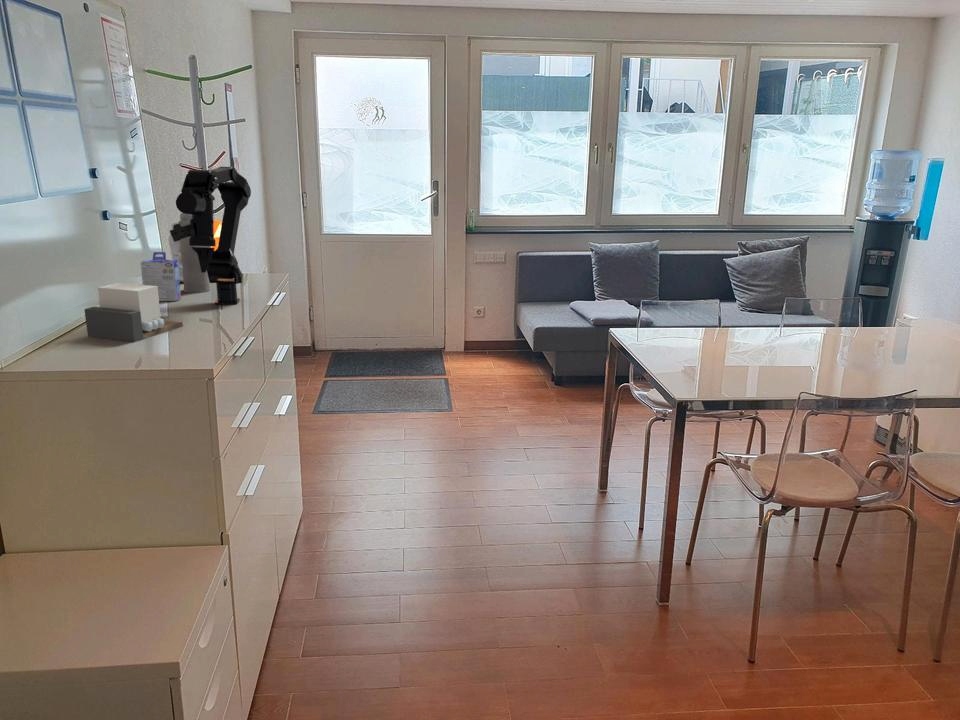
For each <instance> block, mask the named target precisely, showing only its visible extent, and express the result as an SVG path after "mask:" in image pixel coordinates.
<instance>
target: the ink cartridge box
mask: <svg viewBox="0 0 960 720" xmlns="http://www.w3.org/2000/svg"><path fill="white" fill-rule="evenodd" d="M158 255H162V256H158ZM166 255H167V252H166V251H153V253H152V259H144V260H142V261H140V268H141V282H142V285H150V286H158V296H159V302H163V301H164V302H168V301H169V302H174V301H175V302H176V301H179V300H180V299H181V298H182V295H181V283H180V282H179V271H178V261H177V259H172V258H171V259H167V256H166Z"/></svg>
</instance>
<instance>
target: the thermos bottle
mask: <svg viewBox="0 0 960 720" xmlns="http://www.w3.org/2000/svg"><path fill="white" fill-rule="evenodd" d="M191 219H192V214H185V213H182V212H181V213H180V214H179V220H180V221H178V222H177V223H178V224H180V225H181V226H182V227H183V226H186V225H190V220H191ZM189 239H190V237H186V238H183V239H180V248H181V259H182V270H183V282H184V283H183V289H184V292H186V293H191V294H192V293H193V294H194V293H195V294H196V293H205V292H210V290H211V283H210V282H209V278H208V274H207V270H206V272H205V273H203V272H201V268H200V263H199V259H198V255H197V253H196V252H195V251H194V250H193V249H192V248H191V247H195V246H190V243H189Z"/></svg>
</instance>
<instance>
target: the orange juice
mask: <svg viewBox="0 0 960 720" xmlns="http://www.w3.org/2000/svg"><path fill="white" fill-rule="evenodd" d="M213 220H214V219H213ZM221 226H222V220H214V239H215V241H216V246H211V248H215V249H214V251H216V249H217V248H218V243H219V237H220V231H221Z"/></svg>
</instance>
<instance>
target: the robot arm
mask: <svg viewBox="0 0 960 720" xmlns="http://www.w3.org/2000/svg"><path fill="white" fill-rule="evenodd" d="M216 189H217V190H218V191H219V194H220V198H221V200H222V203H223V205H224V207H223V208H224V210H223V215H222V220H221V223H222V226H221V231H220V237H219V243H218V248H217V249H216V251H214V249H215V248H211V246H216V241H215V239H214V201H215V200H216V198H215V196H214V195H213V193H214V192H215V191H216ZM180 191H181V193H180V194H178V196H177V198H176V199H175V205H176V208H177V210H178V211H179V212H180V213H181V214H182V213H185V214H192V219H191V220H190V225H186V226H183V227H182V226H181V225H180V224H176V225H174V226H173V230H172V229H170V230H169V234H171V236H172V238H173V241H174V242H176V241H179V240H180V239H183V238H186V237H190V239H189V243H190V246H195V247H191V248H192V249H193V250H194V251H195V252H196V253H197V255H198V259H199V263H200V268H201V272H203V273H205V272H206V270H207V274H208V278H209V282H210V284H216V297H217V299H216V301H214V305H237V304H238V303H239V302H240V301H241V298H238V290H237V289H238V288H237V284H242V283H243V279H244V276H243V272H242V271H241V269H240V267H239V262H238V259H237V258H236V256H235V249H236V244H237V243H236V242H237V237H238V232H239V231H238V230H239V224H240V217H241V212H242V211H243V210H244V209H245V208H246V206H248V203H249V200H250V198H251V194H252V189H251V187H250V184H249V182H248V180H247V178H245V177H244V176H243V175H241V174H240V173H238V171H237V169H236V167H234V166H219V167H217V168H213V169H189V170H188V171H187V173H186V175H185V178H184V181H183V184H182V187H181V190H180Z"/></svg>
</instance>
